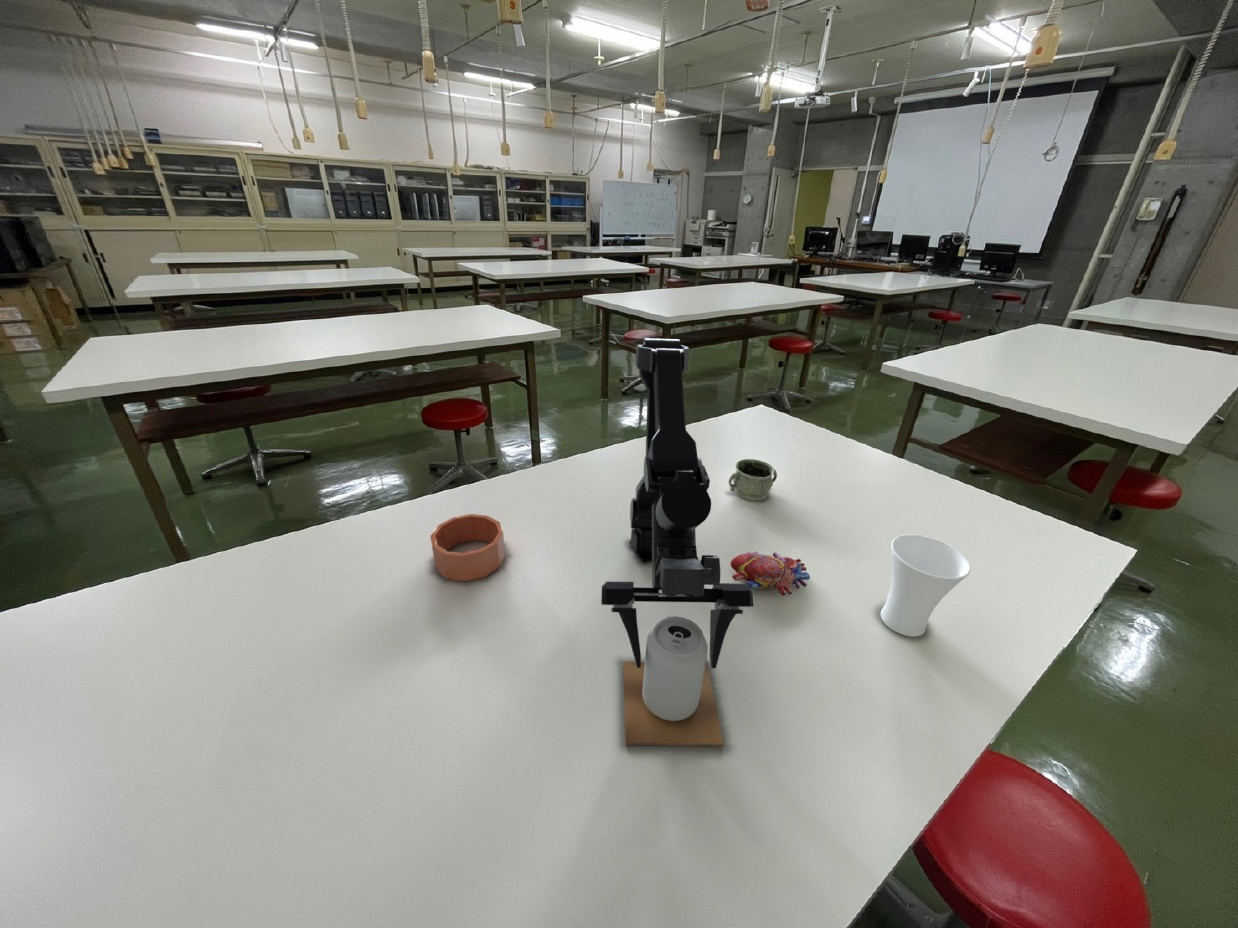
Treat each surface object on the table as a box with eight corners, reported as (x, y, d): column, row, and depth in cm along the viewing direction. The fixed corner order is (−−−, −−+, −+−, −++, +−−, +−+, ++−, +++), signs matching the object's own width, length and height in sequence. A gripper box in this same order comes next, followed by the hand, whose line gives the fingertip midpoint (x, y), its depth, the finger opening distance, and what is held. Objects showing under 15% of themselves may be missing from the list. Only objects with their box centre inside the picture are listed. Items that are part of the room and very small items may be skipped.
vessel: (764, 479, 120) (768, 456, 117) (784, 499, 112) (789, 474, 109) (718, 484, 117) (722, 461, 114) (735, 504, 109) (739, 480, 106)
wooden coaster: (623, 663, 71) (623, 661, 71) (706, 664, 71) (706, 662, 71) (625, 745, 61) (625, 743, 60) (723, 745, 61) (723, 743, 61)
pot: (497, 532, 97) (495, 509, 95) (510, 571, 87) (508, 546, 85) (432, 546, 93) (428, 521, 90) (438, 587, 83) (434, 562, 81)
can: (702, 684, 68) (713, 620, 62) (692, 733, 62) (704, 666, 56) (649, 668, 70) (656, 605, 64) (634, 714, 64) (640, 648, 58)
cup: (932, 608, 83) (961, 542, 77) (946, 655, 74) (980, 586, 68) (864, 592, 86) (887, 528, 80) (870, 636, 77) (896, 568, 71)
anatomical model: (720, 550, 88) (783, 540, 94) (715, 567, 89) (777, 556, 96) (762, 591, 79) (828, 576, 85) (756, 609, 80) (821, 593, 87)
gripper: (603, 529, 57) (600, 675, 53) (763, 532, 58) (773, 676, 54) (602, 542, 68) (600, 664, 64) (737, 544, 69) (744, 666, 64)
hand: (676, 667), depth 61 cm, fingers open, 9 cm apart
